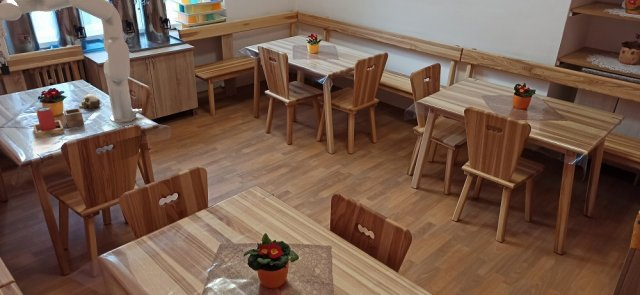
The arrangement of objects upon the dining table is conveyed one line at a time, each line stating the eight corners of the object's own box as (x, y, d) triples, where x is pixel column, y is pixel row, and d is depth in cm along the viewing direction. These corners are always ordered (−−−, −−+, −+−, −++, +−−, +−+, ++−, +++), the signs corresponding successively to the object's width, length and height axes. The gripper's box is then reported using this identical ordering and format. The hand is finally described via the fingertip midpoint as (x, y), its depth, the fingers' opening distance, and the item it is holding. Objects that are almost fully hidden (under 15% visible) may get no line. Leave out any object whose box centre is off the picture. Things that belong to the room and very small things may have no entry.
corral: (61, 125, 238) (59, 120, 236) (64, 133, 229) (63, 128, 228) (34, 130, 232) (33, 124, 230) (37, 139, 223) (35, 133, 222)
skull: (72, 109, 255) (77, 91, 258) (84, 116, 265) (89, 99, 268) (92, 110, 253) (97, 92, 256) (103, 117, 263) (108, 100, 265)
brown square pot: (81, 120, 244) (79, 107, 241) (84, 125, 238) (81, 112, 235) (66, 123, 240) (63, 110, 237) (68, 128, 235) (65, 114, 232)
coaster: (85, 126, 237) (84, 125, 237) (88, 133, 230) (88, 131, 230) (64, 130, 232) (64, 129, 232) (67, 137, 226) (67, 135, 225)
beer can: (50, 135, 227) (45, 111, 222) (38, 134, 228) (32, 110, 223) (60, 130, 233) (54, 106, 228) (48, 128, 234) (42, 105, 229)
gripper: (6, 35, 199) (17, 75, 207) (4, 28, 212) (14, 66, 220) (-15, 37, 196) (-4, 78, 203) (-16, 30, 209) (-6, 68, 216)
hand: (5, 72), depth 211 cm, fingers open, 9 cm apart
